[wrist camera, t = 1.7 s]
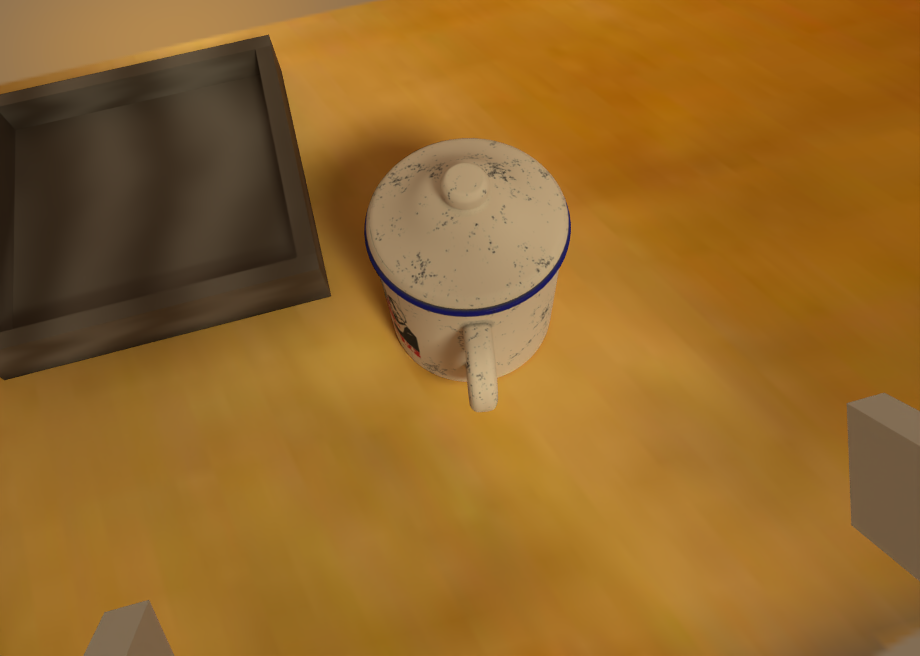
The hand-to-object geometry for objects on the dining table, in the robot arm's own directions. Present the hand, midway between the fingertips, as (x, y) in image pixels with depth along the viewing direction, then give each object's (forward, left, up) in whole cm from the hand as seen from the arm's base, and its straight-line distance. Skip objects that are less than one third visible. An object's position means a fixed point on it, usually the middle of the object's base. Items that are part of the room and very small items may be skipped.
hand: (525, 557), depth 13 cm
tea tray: (-20, +23, -21) cm, 37 cm away
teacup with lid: (-1, +14, -21) cm, 25 cm away
